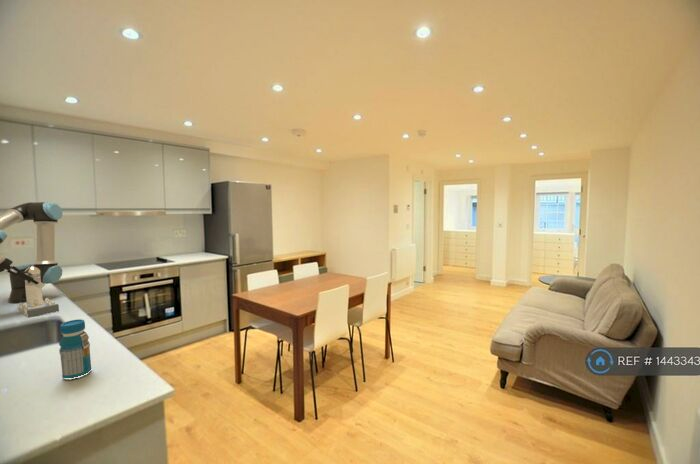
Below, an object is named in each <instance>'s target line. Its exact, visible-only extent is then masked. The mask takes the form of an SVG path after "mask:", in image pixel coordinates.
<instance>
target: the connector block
mask: <svg viewBox="0 0 700 464" xmlns="http://www.w3.org/2000/svg"><path fill="white" fill-rule="evenodd" d="M59 306H60V305H59V304H58V303H55V304H54V305H49V306H47V305H44V306H38V307H33V308H30V309H29V308H28V310H27V314H28V317H27V318H33V317H37V316H42V315H48V314H52V313H57V312H59V311H60V307H59ZM56 311H57V312H56ZM51 312H52V313H51ZM47 313H48V314H47Z"/></svg>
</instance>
